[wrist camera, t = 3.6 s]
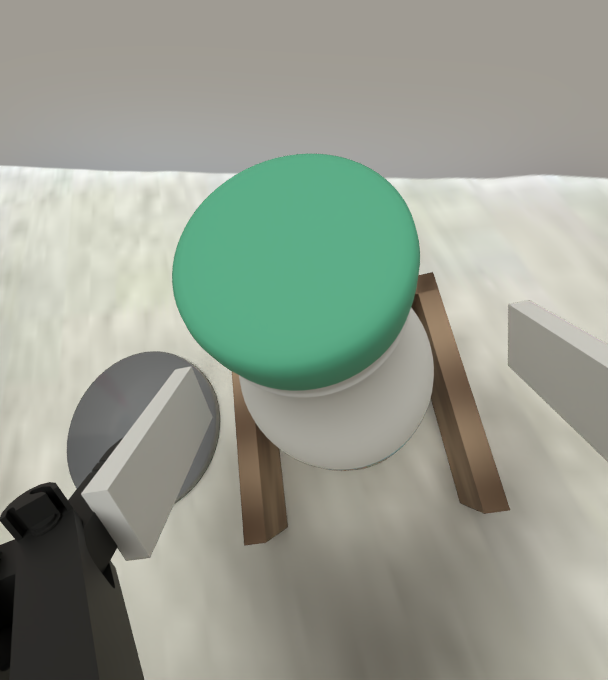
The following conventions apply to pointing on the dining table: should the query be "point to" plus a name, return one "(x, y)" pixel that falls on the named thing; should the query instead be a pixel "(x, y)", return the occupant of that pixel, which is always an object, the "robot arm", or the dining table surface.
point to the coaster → (131, 412)
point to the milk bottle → (312, 306)
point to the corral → (452, 416)
